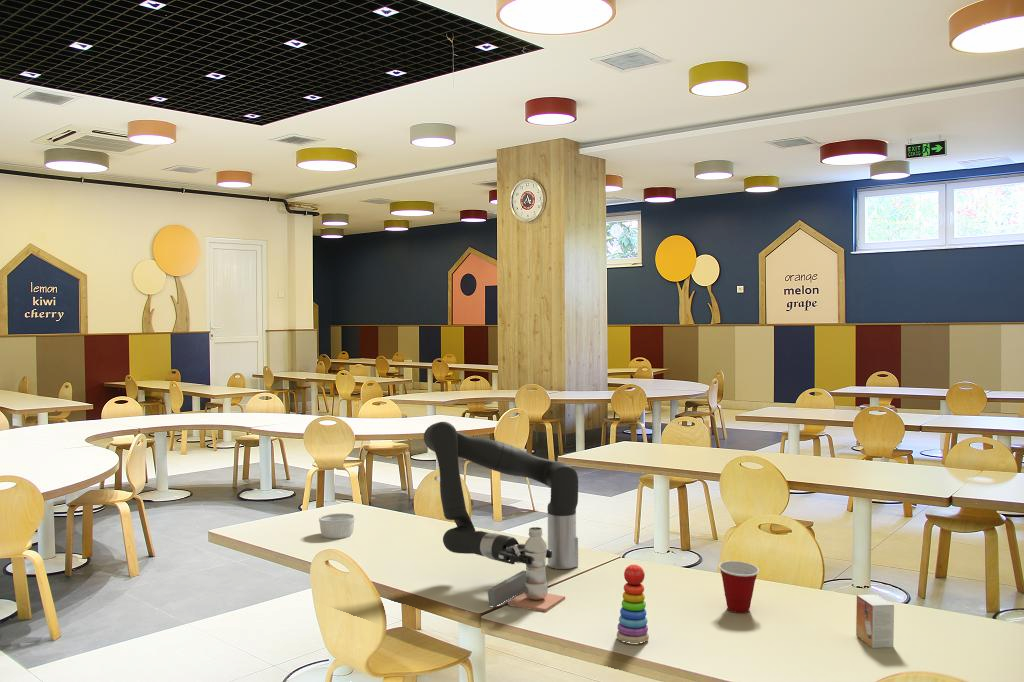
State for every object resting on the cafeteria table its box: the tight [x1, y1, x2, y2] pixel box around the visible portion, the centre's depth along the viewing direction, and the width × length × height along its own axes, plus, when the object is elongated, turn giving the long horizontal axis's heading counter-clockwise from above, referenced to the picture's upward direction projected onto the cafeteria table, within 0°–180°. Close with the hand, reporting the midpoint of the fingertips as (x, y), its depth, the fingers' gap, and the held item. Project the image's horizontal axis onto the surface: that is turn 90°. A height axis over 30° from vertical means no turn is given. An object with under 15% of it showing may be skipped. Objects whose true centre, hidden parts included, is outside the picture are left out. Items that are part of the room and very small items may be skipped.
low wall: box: [487, 569, 526, 608], centre depth 242 cm, size 20×2×5 cm, turn 150°
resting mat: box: [507, 591, 566, 613], centre depth 238 cm, size 12×12×1 cm
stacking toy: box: [616, 564, 650, 643], centre depth 209 cm, size 8×8×19 cm
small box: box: [855, 594, 895, 649], centre depth 207 cm, size 8×6×10 cm
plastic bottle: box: [523, 526, 549, 600], centre depth 238 cm, size 6×7×20 cm
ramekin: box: [318, 512, 356, 540], centre depth 314 cm, size 13×13×7 cm
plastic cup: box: [718, 560, 760, 614], centre depth 230 cm, size 11×11×12 cm
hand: (541, 557), depth 236 cm, fingers open, 8 cm apart
